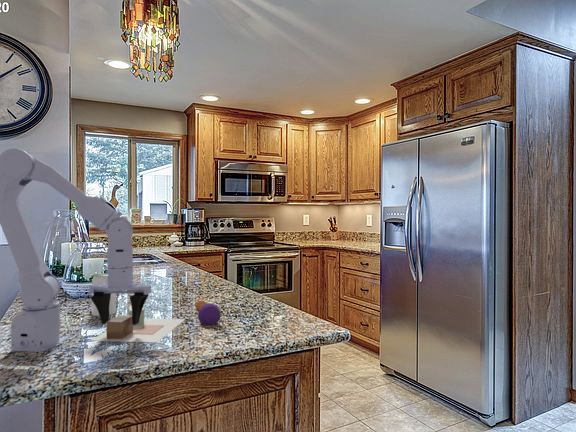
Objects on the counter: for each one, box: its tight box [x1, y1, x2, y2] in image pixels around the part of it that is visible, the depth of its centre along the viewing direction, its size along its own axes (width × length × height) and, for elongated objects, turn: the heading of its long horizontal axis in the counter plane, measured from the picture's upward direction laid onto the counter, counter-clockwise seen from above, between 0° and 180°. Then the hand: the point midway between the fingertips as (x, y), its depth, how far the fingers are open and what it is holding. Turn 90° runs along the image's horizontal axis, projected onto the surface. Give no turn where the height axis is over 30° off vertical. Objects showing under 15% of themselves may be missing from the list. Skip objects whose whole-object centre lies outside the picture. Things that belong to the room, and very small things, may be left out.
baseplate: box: [89, 317, 186, 343], centre depth 103 cm, size 20×16×1 cm
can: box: [91, 272, 117, 317], centre depth 119 cm, size 6×6×12 cm
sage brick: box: [128, 305, 145, 326], centre depth 109 cm, size 6×4×4 cm, turn 23°
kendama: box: [195, 300, 221, 326], centre depth 116 cm, size 6×6×20 cm
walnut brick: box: [106, 314, 133, 339], centre depth 98 cm, size 6×4×4 cm, turn 176°
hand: (120, 323), depth 98 cm, fingers open, 7 cm apart
